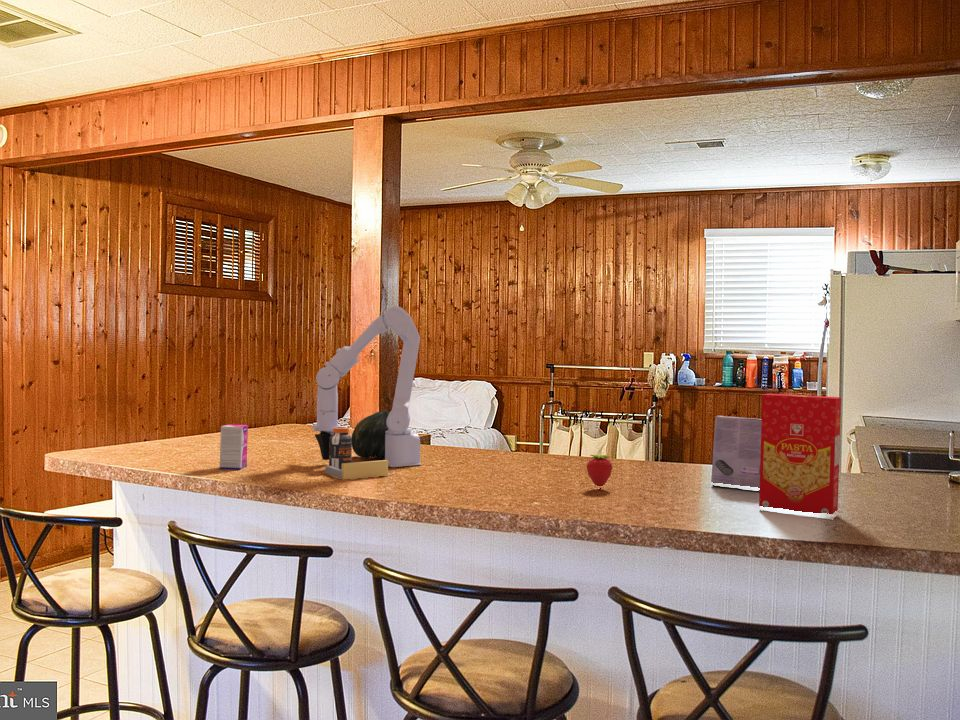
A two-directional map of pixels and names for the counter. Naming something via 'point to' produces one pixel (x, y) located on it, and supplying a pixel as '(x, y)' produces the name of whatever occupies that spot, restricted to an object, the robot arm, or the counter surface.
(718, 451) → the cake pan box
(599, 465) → the strawberry
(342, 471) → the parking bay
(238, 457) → the supplement box
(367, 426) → the squash
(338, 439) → the pill bottle
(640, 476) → the counter surface
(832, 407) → the food packaging
